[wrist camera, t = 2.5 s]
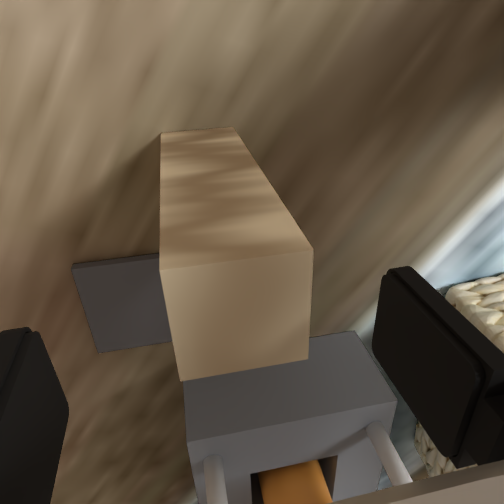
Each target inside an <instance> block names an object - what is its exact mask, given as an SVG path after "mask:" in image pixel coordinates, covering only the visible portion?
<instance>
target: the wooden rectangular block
mask: <svg viewBox="0 0 504 504" xmlns="http://www.w3.org/2000/svg"><path fill="white" fill-rule="evenodd" d="M313 256H314V249H313V248H312V246H311V245H310V243H309V242H308V240H307V239H306V237H305V236H304V234H303V233H302V231H301V230H300V228H299V226H298V225H297V223H296V222H295V220H294V219H293V217H292V216H291V214H290V213H289V211H288V210H287V208H286V207H285V205H284V204H283V202H282V201H281V199H280V198H279V196H278V195H277V193H276V191H275V190H274V188H273V187H272V185H271V184H270V182H269V181H268V179H267V178H266V176H265V175H264V173H263V172H262V170H261V169H260V167H259V166H258V164H257V163H256V161H255V160H254V158H253V157H252V155H251V153H250V152H249V150H248V149H247V147H246V146H245V144H244V143H243V141H242V140H241V138H240V137H239V135H238V134H237V132H236V131H235V129H234V128H233V127H226V128H214V129H202V130H189V131H177V132H165V133H161V160H160V257H159V271H160V277H161V282H162V287H163V293H164V298H165V303H166V309H167V314H168V319H169V325H170V330H171V336H172V341H173V346H174V352H175V357H176V362H177V368H178V373H179V378H180V382H181V381H187V380H192V379H198V378H204V377H209V376H215V375H221V374H226V373H232V372H238V371H244V370H249V369H255V368H261V367H266V366H272V365H278V364H283V363H289V362H295V361H301V360H306V359H308V352H309V333H310V314H311V295H312V276H313Z"/></svg>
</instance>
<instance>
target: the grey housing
mask: <svg viewBox="0 0 504 504" xmlns="http://www.w3.org/2000/svg"><path fill="white" fill-rule="evenodd" d="M183 391H184V408H185V425H186V442H187V448H188V453H189V458H190V463H191V468H192V473H193V478H194V483H195V488H196V493H197V498H198V503H199V504H264V502H263V497H262V492H261V487H260V483H259V478H258V473H257V472H261V471H266V470H271V469H275V468H280V467H285V466H289V465H294V464H299V463H303V462H308V461H312V460H317V459H318V462H319V464H320V467H321V470H322V473H323V476H324V479H325V481H326V484H327V487H328V490H329V493H330V496H331V498H332V501H333V502H335V501H339V500H343V499H347V498H351V497H355V496H359V495H363V494H367V493H371V492H375V491H377V488H378V484H379V480H380V475H381V471H382V467H384V469H385V471H386V473H387V475H388V477H389V479H390V481H391V483H392V485H393V487H394V486H398V485H402V484H406V483H410V482H413V481H412V479H411V477H410V475H409V473H408V471H407V469H406V468H405V466H404V464H403V462H402V460H401V458H400V457H399V455H398V453H397V451H396V449H395V447H394V446H393V444H392V442H391V440H390V438H389V436H390V432H391V428H392V423H393V419H394V415H395V410H396V406H397V402H398V400H397V398H396V397H395V395H394V394H393V392H392V390H391V389H390V387H389V385H388V384H387V382H386V381H385V379H384V377H383V376H382V374H381V372H380V371H379V369H378V368H377V366H376V364H375V363H374V361H373V360H372V358H371V356H370V355H369V353H368V351H367V350H366V348H365V347H364V345H363V343H362V342H361V340H360V338H359V337H358V335H357V334H356V332H355V330H354V331H349V332H343V333H337V334H331V335H325V336H319V337H313V338H309V352H308V359H306V360H301V361H295V362H289V363H283V364H278V365H272V366H266V367H261V368H255V369H249V370H244V371H238V372H232V373H226V374H221V375H215V376H209V377H204V378H198V379H192V380H187V381H183Z"/></svg>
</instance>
